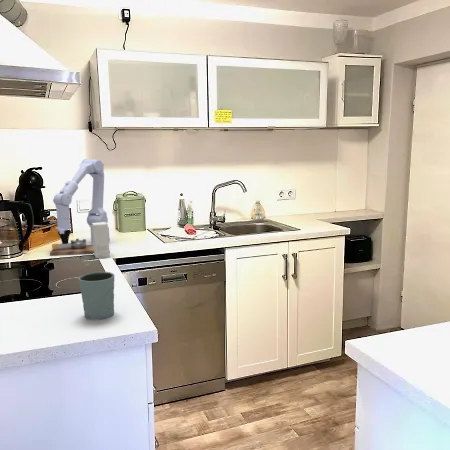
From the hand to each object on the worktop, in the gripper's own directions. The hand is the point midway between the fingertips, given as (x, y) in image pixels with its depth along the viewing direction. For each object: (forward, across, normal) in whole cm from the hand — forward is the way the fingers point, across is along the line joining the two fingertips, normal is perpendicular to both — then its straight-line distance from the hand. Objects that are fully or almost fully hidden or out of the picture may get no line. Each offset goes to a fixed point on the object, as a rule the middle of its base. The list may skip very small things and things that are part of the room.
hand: (65, 245), depth 221 cm
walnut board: (+3, 0, +4) cm, 5 cm away
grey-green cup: (+2, +92, +24) cm, 95 cm away
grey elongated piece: (+1, +1, +2) cm, 2 cm away
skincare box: (+3, +13, +18) cm, 23 cm away
